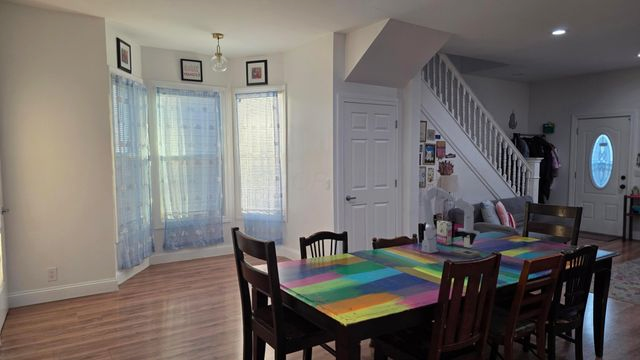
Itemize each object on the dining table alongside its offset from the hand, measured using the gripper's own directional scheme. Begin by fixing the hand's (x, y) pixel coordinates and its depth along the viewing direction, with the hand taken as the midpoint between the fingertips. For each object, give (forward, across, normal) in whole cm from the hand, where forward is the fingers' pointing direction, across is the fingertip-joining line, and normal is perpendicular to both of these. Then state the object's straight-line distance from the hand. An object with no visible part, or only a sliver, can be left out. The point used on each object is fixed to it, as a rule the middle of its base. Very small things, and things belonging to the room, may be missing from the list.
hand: (468, 243), depth 269 cm
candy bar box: (+8, +30, -16) cm, 35 cm away
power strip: (+8, +2, 0) cm, 8 cm away
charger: (+2, 0, 0) cm, 2 cm away
